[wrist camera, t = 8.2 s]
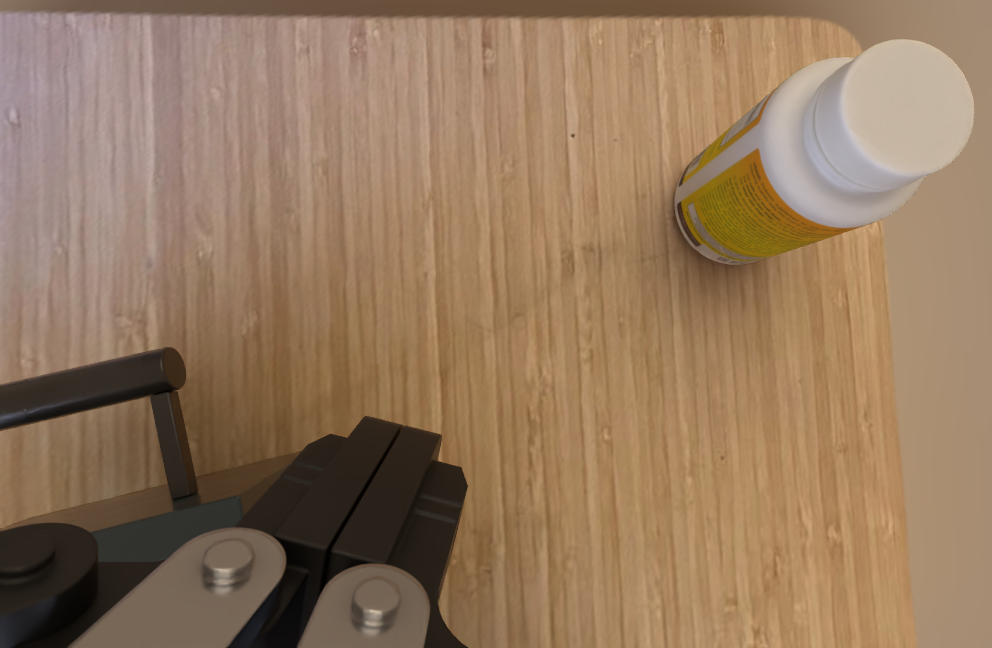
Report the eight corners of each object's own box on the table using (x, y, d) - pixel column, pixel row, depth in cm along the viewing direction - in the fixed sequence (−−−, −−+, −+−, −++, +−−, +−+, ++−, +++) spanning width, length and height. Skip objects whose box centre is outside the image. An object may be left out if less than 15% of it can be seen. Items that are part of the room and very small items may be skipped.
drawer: (6, 401, 22) (-247, 427, 14) (291, 336, 23) (203, 325, 15) (96, 863, 21) (-118, 1162, 13) (388, 777, 22) (348, 1008, 14)
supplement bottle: (775, 278, 25) (989, 224, 15) (659, 253, 25) (798, 180, 15) (794, 163, 26) (1016, 35, 15) (681, 137, 25) (830, -12, 15)
